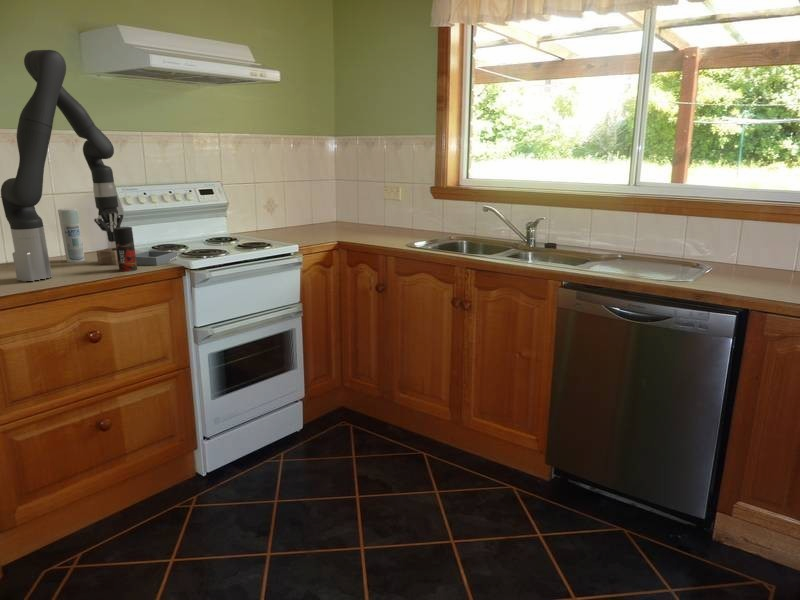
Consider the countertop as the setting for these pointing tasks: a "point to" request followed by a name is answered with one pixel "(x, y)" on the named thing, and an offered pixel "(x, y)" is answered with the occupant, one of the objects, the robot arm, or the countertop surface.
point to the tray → (154, 257)
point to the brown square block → (107, 256)
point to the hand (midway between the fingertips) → (112, 241)
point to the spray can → (71, 234)
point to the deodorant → (125, 249)
